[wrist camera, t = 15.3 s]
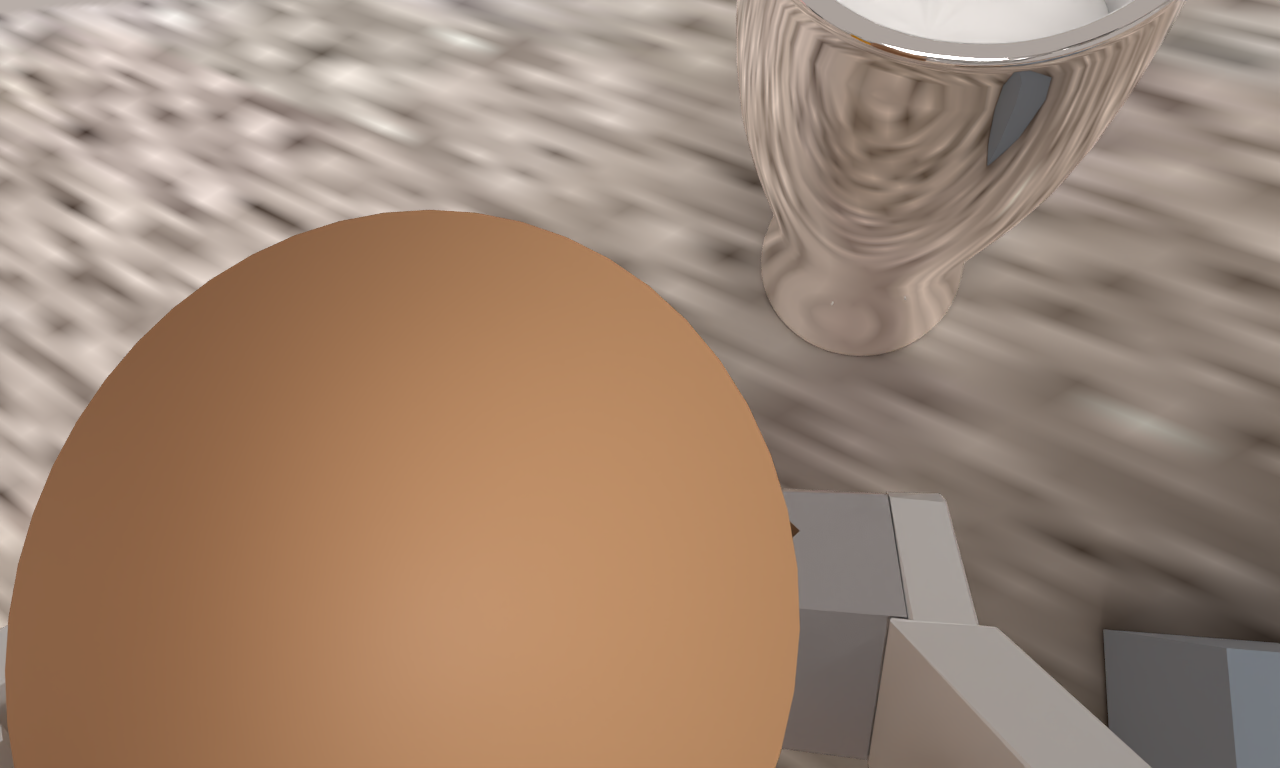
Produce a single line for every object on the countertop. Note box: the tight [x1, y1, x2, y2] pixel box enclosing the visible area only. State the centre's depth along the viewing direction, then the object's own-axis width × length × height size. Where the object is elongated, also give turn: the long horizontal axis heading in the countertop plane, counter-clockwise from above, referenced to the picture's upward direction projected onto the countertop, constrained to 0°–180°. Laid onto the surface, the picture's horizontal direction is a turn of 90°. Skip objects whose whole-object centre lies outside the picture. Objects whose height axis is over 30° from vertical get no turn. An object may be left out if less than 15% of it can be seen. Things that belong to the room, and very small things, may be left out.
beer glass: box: [736, 0, 1187, 356], centre depth 18 cm, size 7×7×15 cm
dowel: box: [5, 210, 800, 768], centre depth 9 cm, size 4×4×10 cm
